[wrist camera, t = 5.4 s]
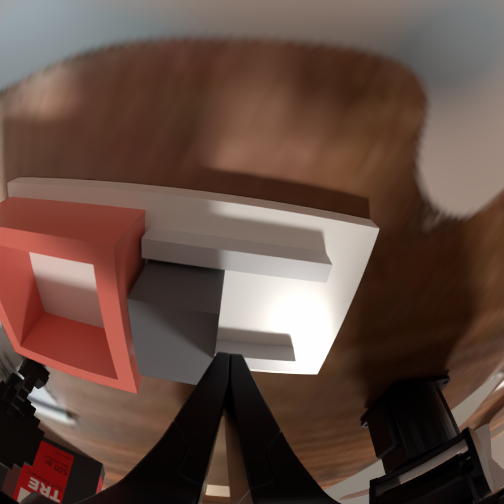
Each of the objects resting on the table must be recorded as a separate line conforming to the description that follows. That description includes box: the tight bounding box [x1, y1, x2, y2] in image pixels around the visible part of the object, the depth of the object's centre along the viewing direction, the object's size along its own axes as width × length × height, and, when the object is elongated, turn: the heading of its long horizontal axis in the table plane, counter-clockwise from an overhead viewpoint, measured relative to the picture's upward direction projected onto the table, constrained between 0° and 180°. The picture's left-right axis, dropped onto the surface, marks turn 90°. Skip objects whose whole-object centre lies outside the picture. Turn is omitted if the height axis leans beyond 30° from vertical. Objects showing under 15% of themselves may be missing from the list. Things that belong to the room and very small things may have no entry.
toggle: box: [127, 259, 225, 385], centre depth 11 cm, size 3×4×3 cm
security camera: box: [0, 358, 50, 470], centre depth 15 cm, size 7×18×10 cm, turn 125°
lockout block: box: [206, 416, 230, 497], centre depth 17 cm, size 4×4×6 cm
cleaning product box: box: [0, 436, 105, 504], centre depth 20 cm, size 16×9×20 cm, turn 67°
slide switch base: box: [0, 177, 379, 393], centre depth 11 cm, size 17×9×4 cm, turn 81°
